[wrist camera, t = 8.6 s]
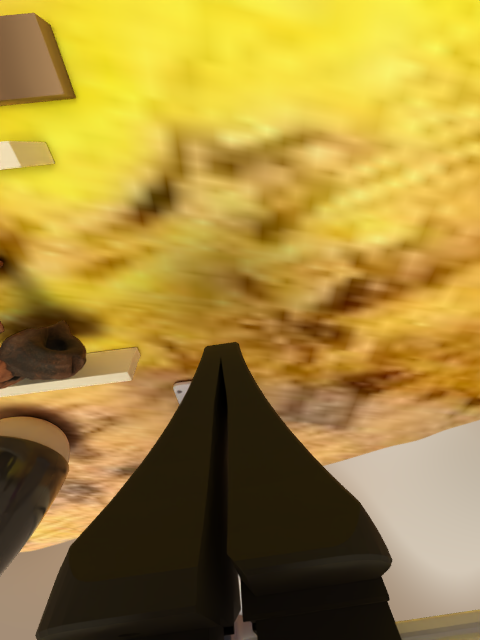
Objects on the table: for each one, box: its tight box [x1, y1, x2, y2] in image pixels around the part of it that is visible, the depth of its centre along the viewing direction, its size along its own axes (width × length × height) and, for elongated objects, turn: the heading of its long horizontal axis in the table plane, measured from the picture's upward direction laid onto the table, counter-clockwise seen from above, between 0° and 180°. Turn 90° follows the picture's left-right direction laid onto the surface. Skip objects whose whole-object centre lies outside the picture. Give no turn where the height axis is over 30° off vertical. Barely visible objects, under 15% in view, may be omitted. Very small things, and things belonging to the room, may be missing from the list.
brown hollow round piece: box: [0, 261, 86, 389], centre depth 17 cm, size 12×10×8 cm
